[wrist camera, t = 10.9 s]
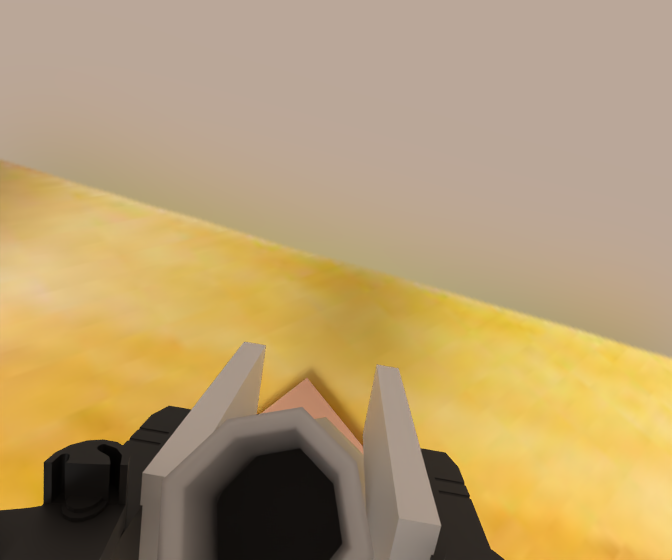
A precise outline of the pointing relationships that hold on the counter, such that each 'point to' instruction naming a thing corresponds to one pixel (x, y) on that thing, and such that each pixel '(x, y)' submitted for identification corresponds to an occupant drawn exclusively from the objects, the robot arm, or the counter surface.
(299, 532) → the flask
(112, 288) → the counter surface
